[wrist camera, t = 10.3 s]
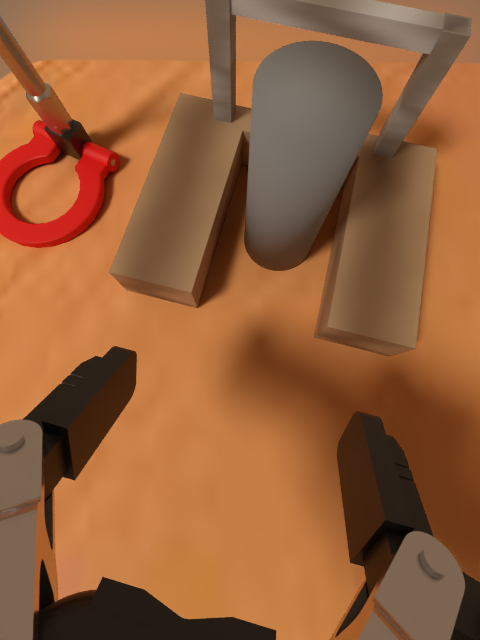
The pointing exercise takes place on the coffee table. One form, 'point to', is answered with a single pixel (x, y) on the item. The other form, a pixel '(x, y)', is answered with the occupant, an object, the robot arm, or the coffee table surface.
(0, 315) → the coffee table surface
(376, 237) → the wooden gate frame
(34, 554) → the robot arm
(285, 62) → the grey tapered capsule
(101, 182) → the tow hook
